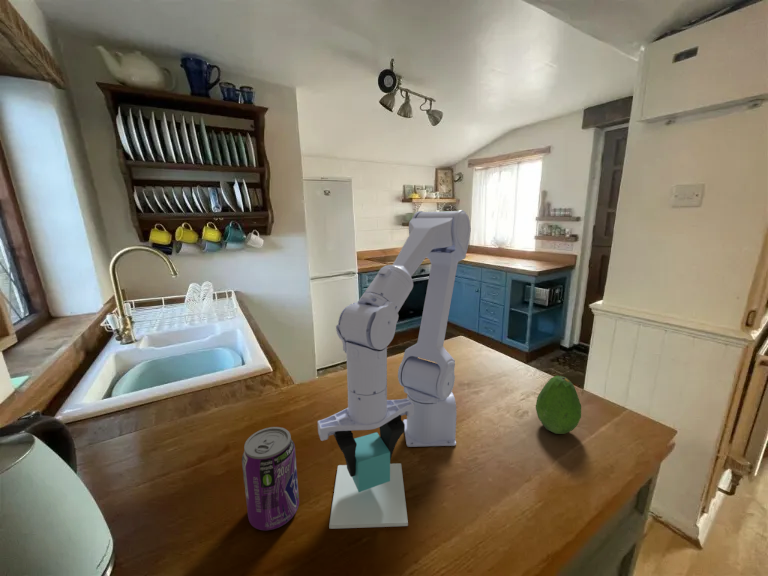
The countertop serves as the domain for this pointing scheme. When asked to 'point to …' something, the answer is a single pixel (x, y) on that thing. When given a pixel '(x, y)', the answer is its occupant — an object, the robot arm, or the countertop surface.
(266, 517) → the beverage can
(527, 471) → the countertop surface
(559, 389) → the avocado
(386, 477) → the cube
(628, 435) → the countertop surface
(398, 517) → the plate
